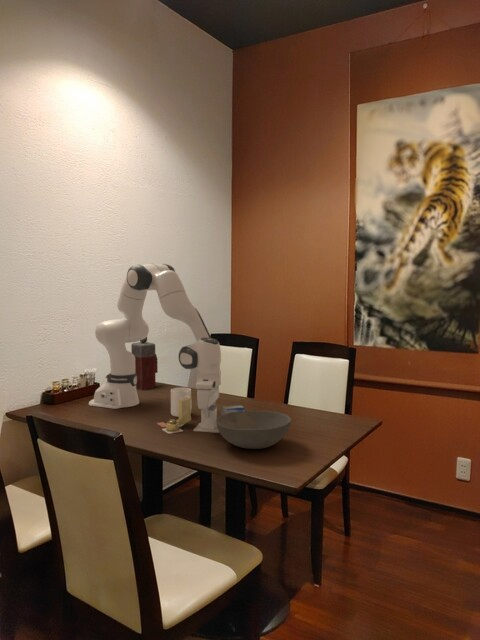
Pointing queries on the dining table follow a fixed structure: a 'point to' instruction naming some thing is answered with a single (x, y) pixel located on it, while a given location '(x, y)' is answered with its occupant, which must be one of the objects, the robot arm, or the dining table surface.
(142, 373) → the red canister
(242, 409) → the medicine box
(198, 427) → the mat
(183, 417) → the gold angular piece
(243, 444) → the bowl
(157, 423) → the marks
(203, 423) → the grey rectangular block
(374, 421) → the dining table surface
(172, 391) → the mug
